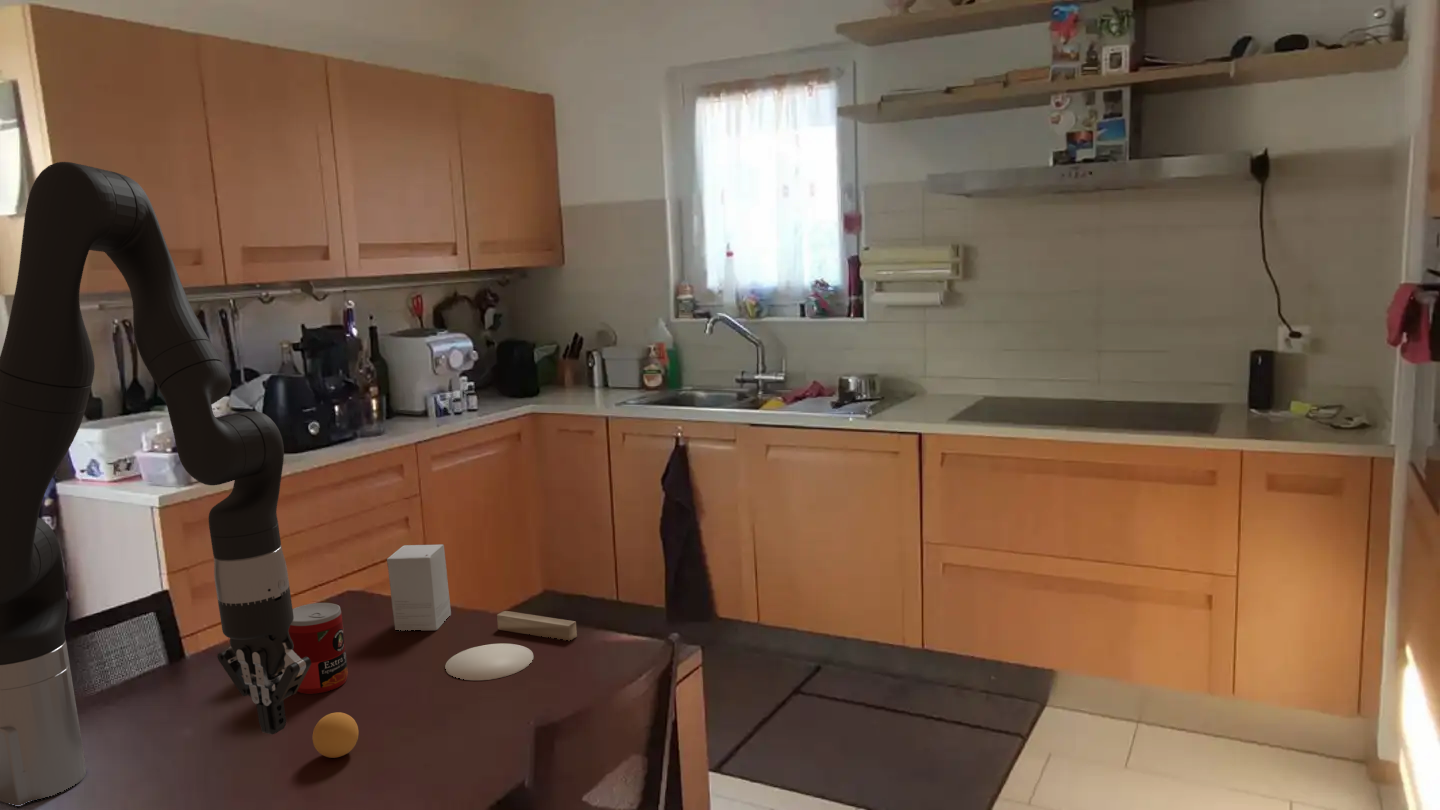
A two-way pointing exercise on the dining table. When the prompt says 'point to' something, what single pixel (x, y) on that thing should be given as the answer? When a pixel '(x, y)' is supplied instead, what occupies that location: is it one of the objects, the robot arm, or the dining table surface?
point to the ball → (335, 735)
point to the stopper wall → (537, 625)
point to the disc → (489, 661)
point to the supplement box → (419, 587)
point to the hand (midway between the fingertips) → (274, 730)
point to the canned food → (320, 646)
